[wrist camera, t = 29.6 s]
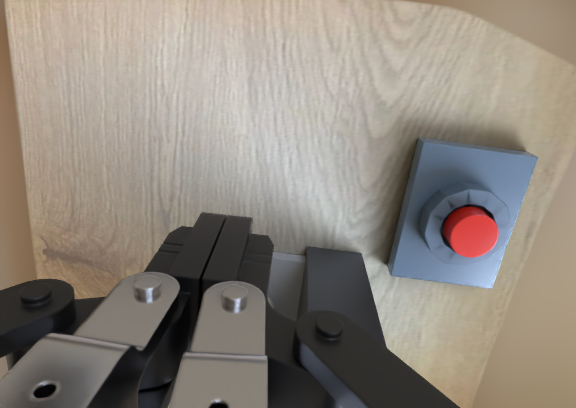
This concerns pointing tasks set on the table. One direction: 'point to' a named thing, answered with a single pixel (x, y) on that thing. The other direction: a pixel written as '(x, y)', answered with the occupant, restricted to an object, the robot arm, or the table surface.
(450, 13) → the table surface
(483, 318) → the table surface
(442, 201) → the pad
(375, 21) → the table surface
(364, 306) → the coffee maker
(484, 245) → the button
